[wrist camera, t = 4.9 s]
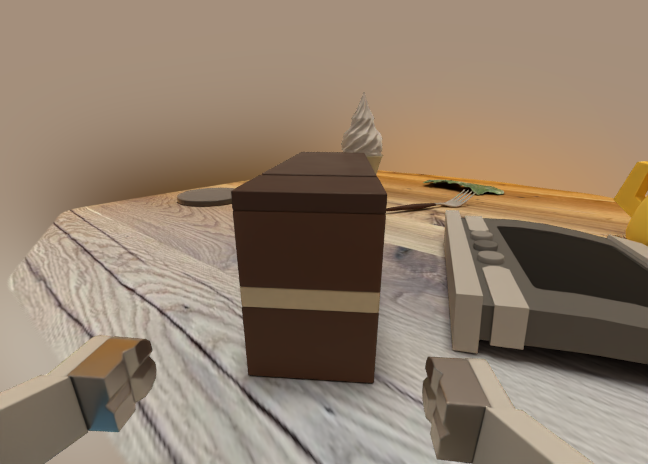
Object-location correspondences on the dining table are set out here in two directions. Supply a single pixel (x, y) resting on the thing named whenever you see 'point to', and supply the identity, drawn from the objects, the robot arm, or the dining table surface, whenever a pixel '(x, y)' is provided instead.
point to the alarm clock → (545, 288)
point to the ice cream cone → (363, 135)
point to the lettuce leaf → (471, 186)
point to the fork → (449, 203)
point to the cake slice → (310, 274)
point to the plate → (206, 197)
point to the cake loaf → (325, 165)
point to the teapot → (636, 203)
